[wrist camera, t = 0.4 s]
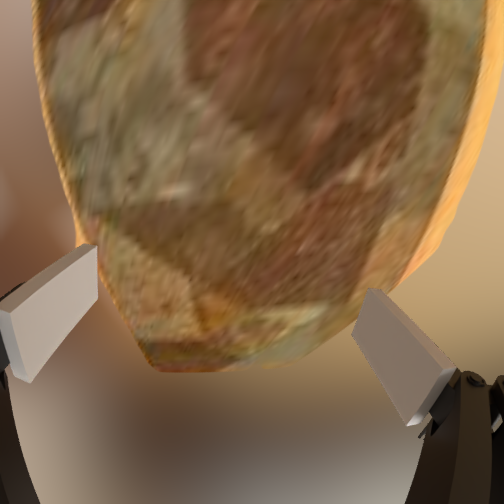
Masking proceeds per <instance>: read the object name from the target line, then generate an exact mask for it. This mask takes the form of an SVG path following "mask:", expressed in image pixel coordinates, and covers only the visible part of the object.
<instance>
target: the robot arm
mask: <svg viewBox="0 0 504 504" xmlns="http://www.w3.org/2000/svg"><path fill="white" fill-rule="evenodd" d="M97 299H98V286H97V246H95V245H89V244H82V245H81V246H79V247H77V248H76V249H74V250H73V251H71V252H70V253H68V254H67V255H65V256H64V257H62V258H61V259H59V260H58V261H56V262H55V263H53V264H52V265H50V266H49V267H47V268H46V269H44V270H43V271H41V272H40V273H39V274H37V275H36V276H34V277H33V278H32V279H30V280H29V281H27V282H24V283H21V284H19V285H17V286H16V287H14V288H13V289H12V290H11V291H10V292H8V293H6V294H5V296H2V297H1V298H0V504H40V502H39V499H38V497H37V494H36V492H35V489H34V486H33V484H32V481H31V478H30V475H29V472H28V470H27V467H26V463H25V460H24V457H23V453H22V450H21V446H20V442H19V438H18V434H17V430H16V426H15V421H14V416H13V411H12V406H11V400H10V393H9V387H8V379H7V375H6V373H5V368H6V367H7V366H8V364H9V363H10V366H11V368H12V371H13V374H14V376H15V377H17V378H20V379H21V380H24V381H26V382H28V383H31V382H32V380H33V379H34V378H35V376H36V375H37V374H38V372H39V371H40V370H41V368H42V367H43V365H44V364H45V363H46V361H47V360H48V359H49V358H50V356H51V355H52V354H53V352H54V351H55V350H56V348H57V347H58V346H59V345H60V344H61V342H62V341H63V340H64V338H65V337H66V336H67V335H68V333H69V332H70V331H71V330H72V329H73V327H74V326H75V325H76V324H77V323H78V321H79V320H80V319H81V318H82V317H83V316H84V314H85V313H86V312H87V311H88V310H89V308H90V307H91V306H92V305H93V304H94V303H95V302H96V300H97ZM352 337H353V338H354V340H355V341H356V343H357V345H358V346H359V348H360V349H361V351H362V353H363V354H364V356H365V357H366V359H367V361H368V362H369V364H370V366H371V367H372V369H373V371H374V372H375V374H376V376H377V377H378V379H379V381H380V382H381V384H382V386H383V387H384V389H385V391H386V392H387V394H388V396H389V397H390V399H391V401H392V402H393V404H394V406H395V408H396V409H397V411H398V413H399V415H400V416H401V418H402V420H403V422H404V423H405V425H406V426H410V425H415V424H419V423H421V422H422V421H423V419H424V418H425V416H426V415H427V414H428V412H429V413H430V414H431V416H432V419H431V420H430V422H429V423H428V424H427V426H426V427H425V428H424V430H423V431H422V432H421V433H420V435H419V436H418V438H421V436H422V435H424V434H426V435H425V438H424V439H423V440H424V443H423V447H422V451H421V455H420V458H419V462H418V465H417V469H416V472H415V475H414V478H413V481H412V485H411V487H410V491H409V493H408V496H407V499H406V501H405V504H504V375H500V376H498V377H497V379H496V381H495V382H494V384H493V385H487V384H486V382H485V380H484V379H483V378H482V377H481V376H479V375H478V374H476V373H474V372H471V371H464V372H460V370H459V369H458V368H457V367H456V366H455V365H454V364H453V363H452V361H451V360H450V359H449V358H448V357H447V356H446V355H445V354H444V353H443V352H442V351H441V350H440V349H439V347H438V346H437V345H436V344H435V343H434V342H433V341H432V340H431V339H430V338H429V337H428V336H427V335H426V334H425V333H424V332H423V331H422V330H421V329H420V328H419V327H418V326H417V325H416V324H415V323H414V322H413V321H412V320H411V319H410V318H409V317H408V316H407V315H406V314H405V313H404V312H403V311H402V310H401V309H400V308H399V307H398V306H397V305H396V304H395V303H394V302H393V301H392V300H391V299H390V298H389V297H388V296H387V295H386V294H385V293H384V292H383V291H382V290H381V289H374V288H368V290H367V293H366V296H365V299H364V302H363V305H362V307H361V310H360V313H359V316H358V319H357V321H356V324H355V327H354V329H353V332H352ZM501 417H502V420H503V422H502V424H501V425H500V426H499V428H498V429H497V430H496V431H495V432H493V429H492V428H493V427H494V425H495V424H496V423H497V421H498V420H499V419H500V418H501Z"/></svg>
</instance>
